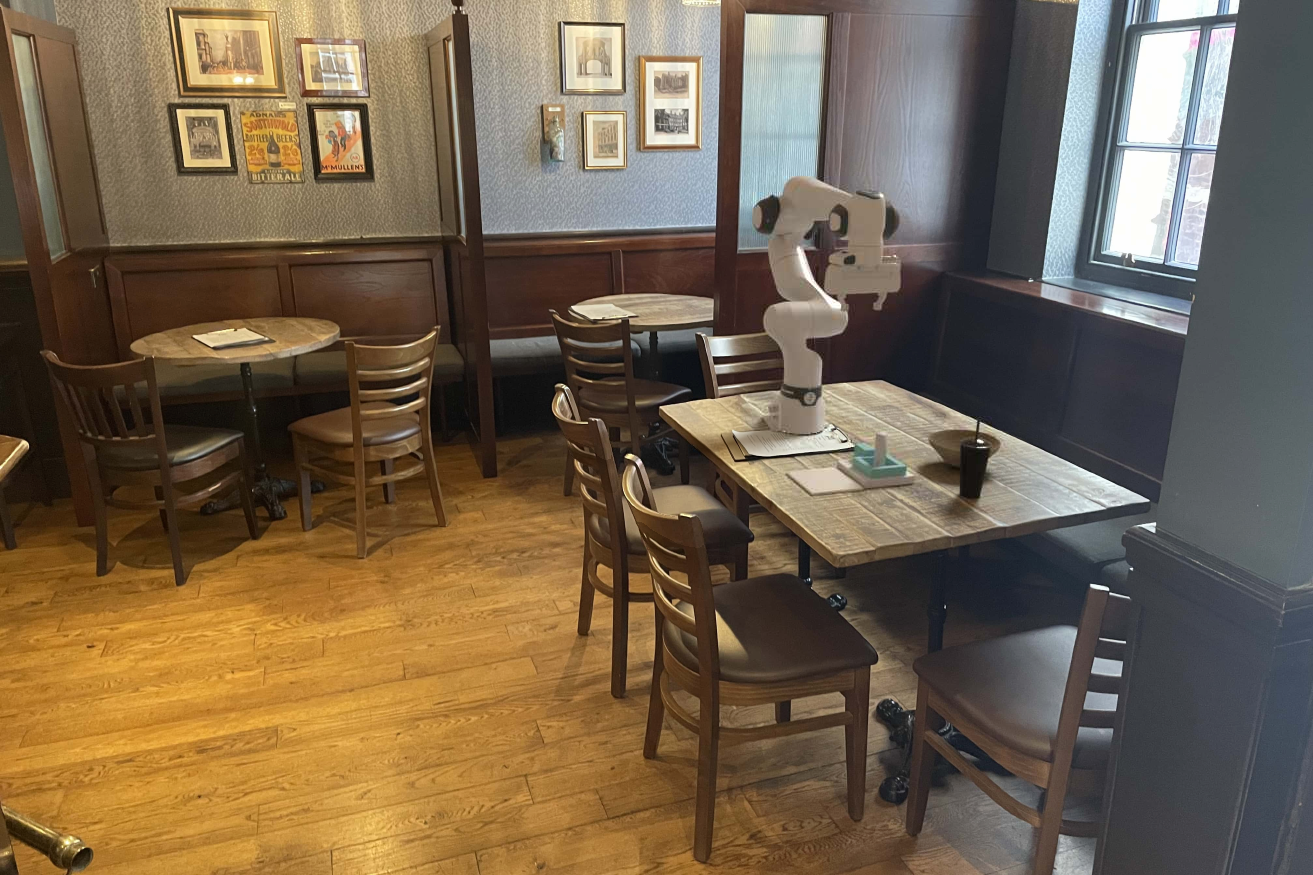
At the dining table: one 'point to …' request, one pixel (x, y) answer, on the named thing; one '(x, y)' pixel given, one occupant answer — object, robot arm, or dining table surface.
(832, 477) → the mat
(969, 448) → the drinking cup
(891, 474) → the teal square ring handle
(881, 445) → the post stand
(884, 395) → the dining table surface
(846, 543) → the dining table surface
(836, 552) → the dining table surface
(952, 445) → the bowl
